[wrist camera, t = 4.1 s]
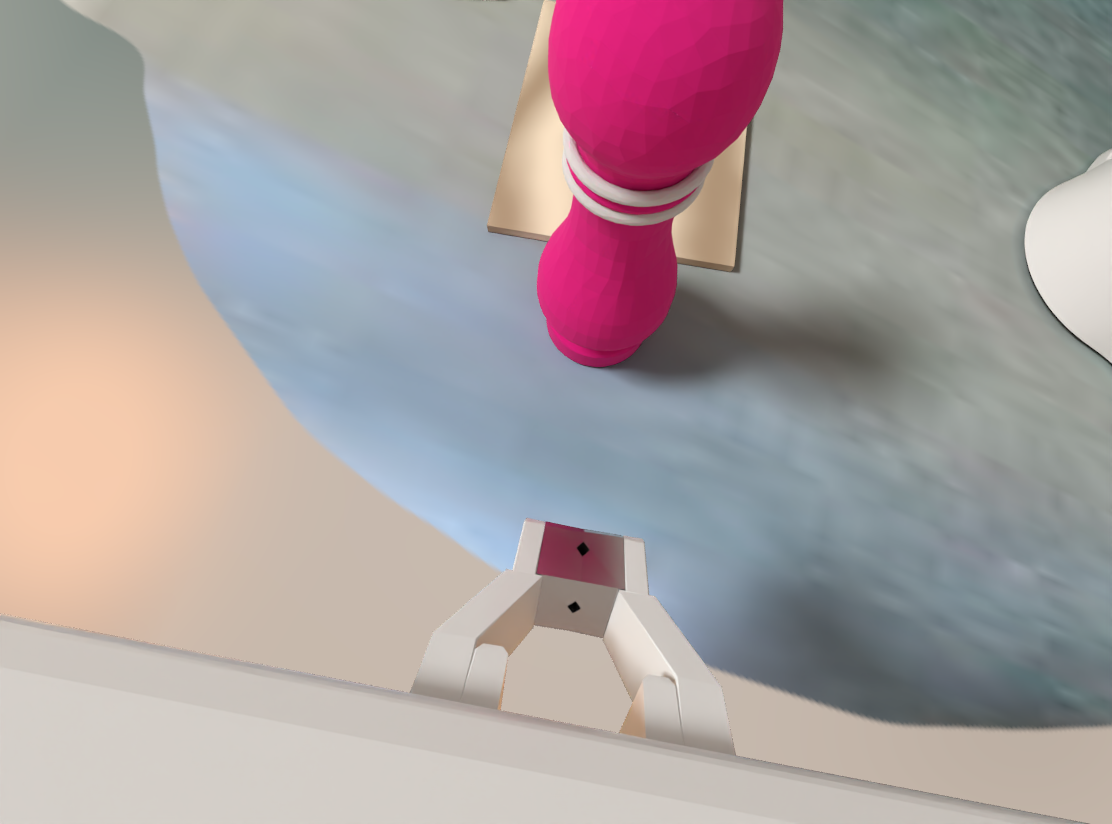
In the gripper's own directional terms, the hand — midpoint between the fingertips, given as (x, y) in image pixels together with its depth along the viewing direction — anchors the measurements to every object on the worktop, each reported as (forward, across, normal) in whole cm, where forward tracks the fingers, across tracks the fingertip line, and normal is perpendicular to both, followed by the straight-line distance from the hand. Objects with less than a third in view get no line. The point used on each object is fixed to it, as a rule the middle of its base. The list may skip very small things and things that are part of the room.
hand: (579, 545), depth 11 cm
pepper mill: (+19, 0, 0) cm, 19 cm away
